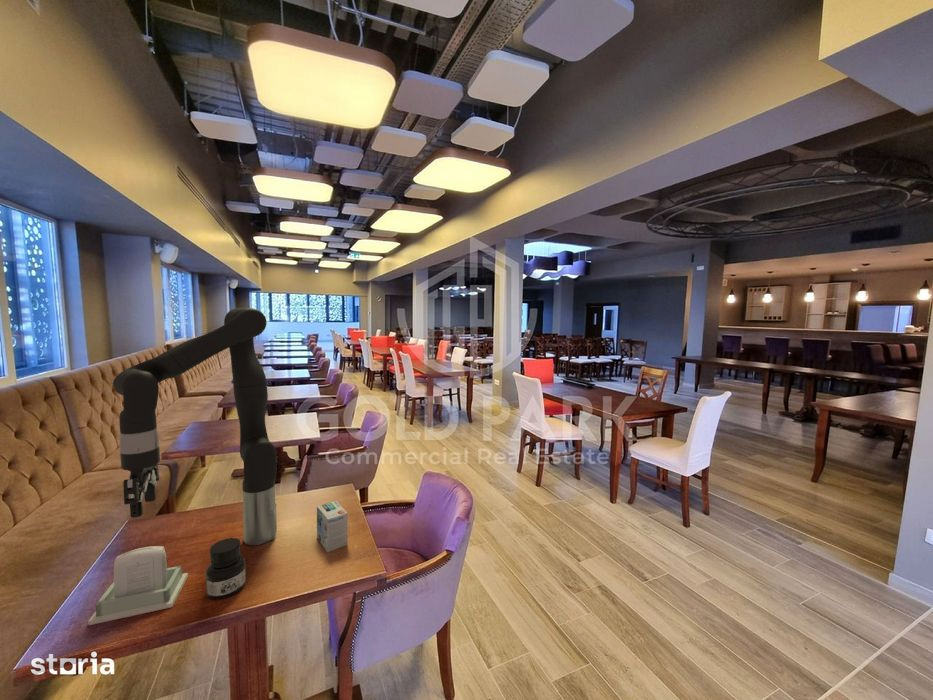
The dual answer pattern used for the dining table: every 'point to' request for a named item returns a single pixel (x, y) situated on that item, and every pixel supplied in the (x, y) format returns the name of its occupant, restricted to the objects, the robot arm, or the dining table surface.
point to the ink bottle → (225, 569)
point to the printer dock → (139, 599)
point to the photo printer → (140, 571)
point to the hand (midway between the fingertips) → (144, 508)
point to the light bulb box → (332, 526)
